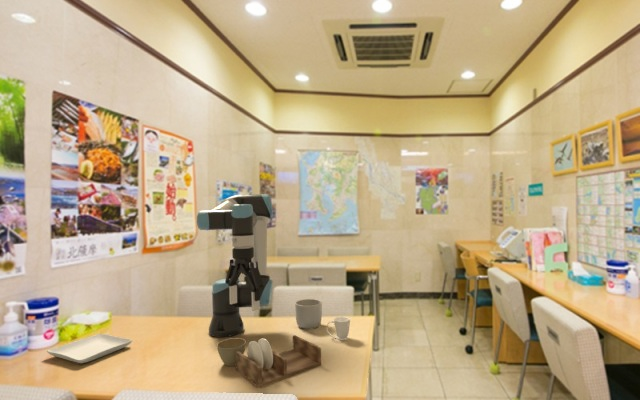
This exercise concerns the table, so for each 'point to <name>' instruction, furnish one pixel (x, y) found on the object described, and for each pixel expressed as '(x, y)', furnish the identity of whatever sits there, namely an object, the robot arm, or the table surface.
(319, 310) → the planter
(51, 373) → the table surface
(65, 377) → the table surface
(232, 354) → the flower pot
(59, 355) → the salad plate
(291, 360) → the rack
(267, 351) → the plates
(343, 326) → the cup
